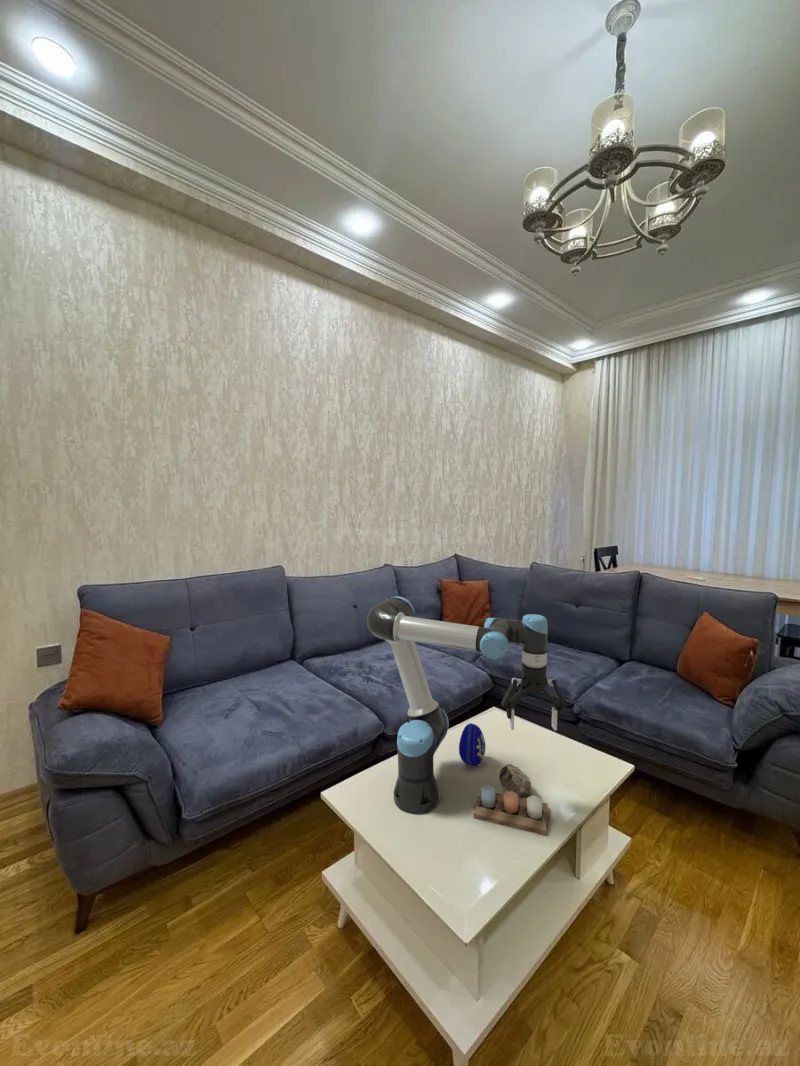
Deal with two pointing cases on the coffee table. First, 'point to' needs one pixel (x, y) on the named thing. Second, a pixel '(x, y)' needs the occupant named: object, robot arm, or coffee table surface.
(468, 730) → the ornament
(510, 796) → the button terracotta
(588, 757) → the coffee table surface
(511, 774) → the stone
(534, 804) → the button cream
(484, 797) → the button slate
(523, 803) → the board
